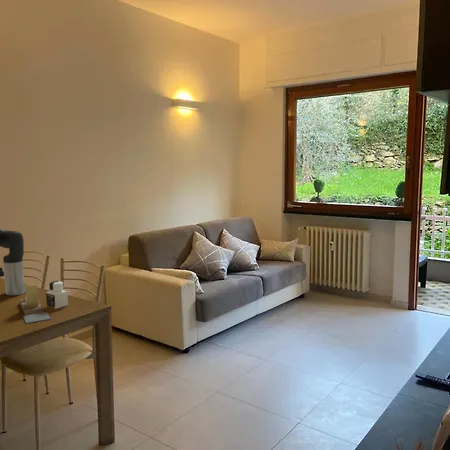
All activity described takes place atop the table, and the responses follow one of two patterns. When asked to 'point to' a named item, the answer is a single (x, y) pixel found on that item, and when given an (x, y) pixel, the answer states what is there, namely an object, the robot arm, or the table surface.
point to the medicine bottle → (56, 295)
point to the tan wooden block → (31, 295)
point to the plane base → (31, 308)
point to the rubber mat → (36, 317)
